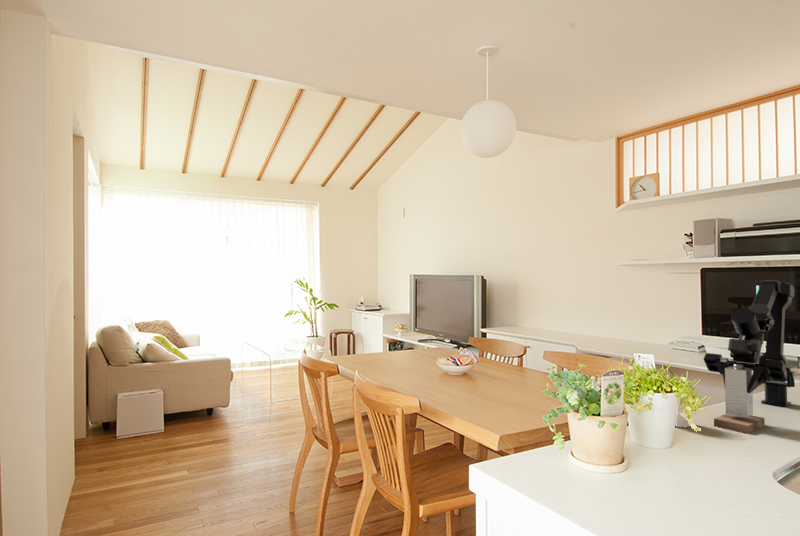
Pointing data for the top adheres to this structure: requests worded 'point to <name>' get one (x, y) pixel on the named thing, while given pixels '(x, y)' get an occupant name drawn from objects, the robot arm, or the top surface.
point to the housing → (738, 391)
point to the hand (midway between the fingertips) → (737, 390)
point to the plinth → (739, 422)
